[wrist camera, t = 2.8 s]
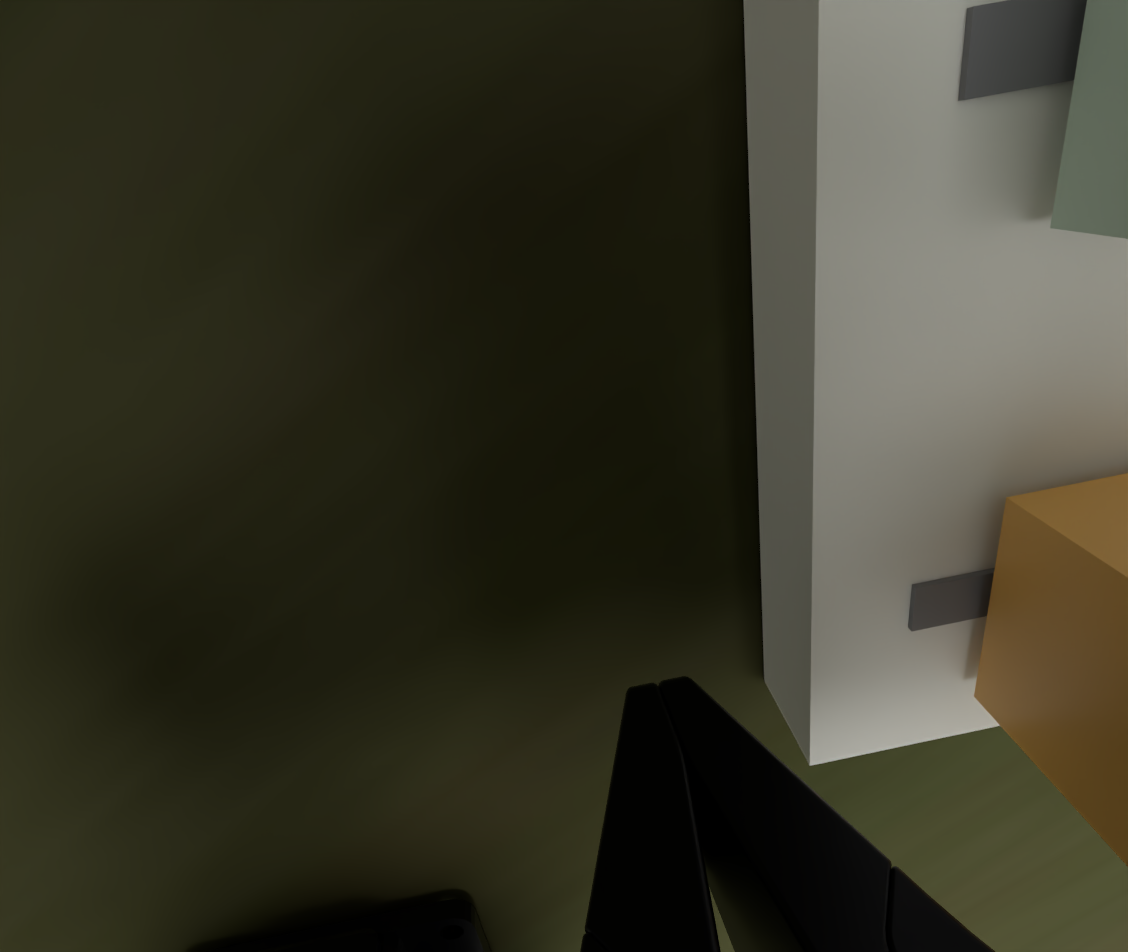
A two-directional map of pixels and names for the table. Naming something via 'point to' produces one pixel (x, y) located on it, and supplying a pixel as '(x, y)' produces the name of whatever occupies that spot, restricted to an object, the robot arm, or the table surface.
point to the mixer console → (913, 343)
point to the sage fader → (1097, 129)
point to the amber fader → (1065, 644)
